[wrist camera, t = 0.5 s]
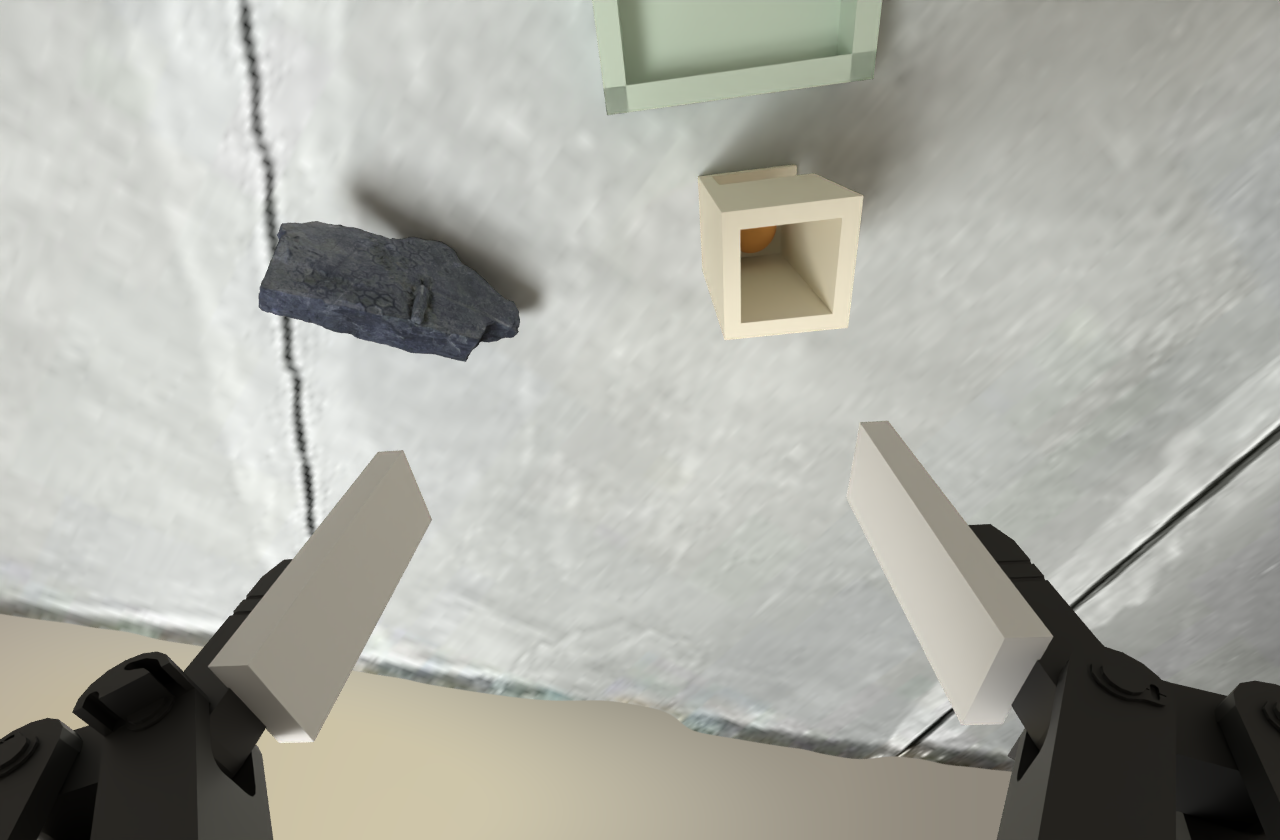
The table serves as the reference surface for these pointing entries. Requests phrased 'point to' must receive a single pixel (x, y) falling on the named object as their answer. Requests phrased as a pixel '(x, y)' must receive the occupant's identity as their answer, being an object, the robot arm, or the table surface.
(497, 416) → the table surface
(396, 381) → the table surface
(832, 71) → the tray
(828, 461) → the table surface
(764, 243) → the ball
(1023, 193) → the table surface
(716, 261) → the hollow box
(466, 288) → the stone
